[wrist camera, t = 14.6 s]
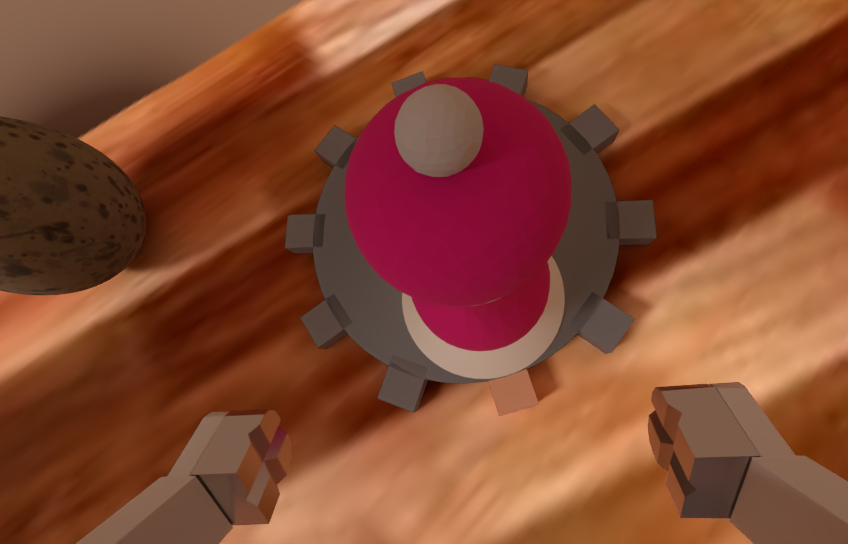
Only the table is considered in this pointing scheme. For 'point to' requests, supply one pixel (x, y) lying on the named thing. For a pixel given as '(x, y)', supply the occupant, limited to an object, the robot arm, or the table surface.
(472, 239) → the pepper mill
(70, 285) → the decorative egg
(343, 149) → the sprocket plate
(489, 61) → the table surface
